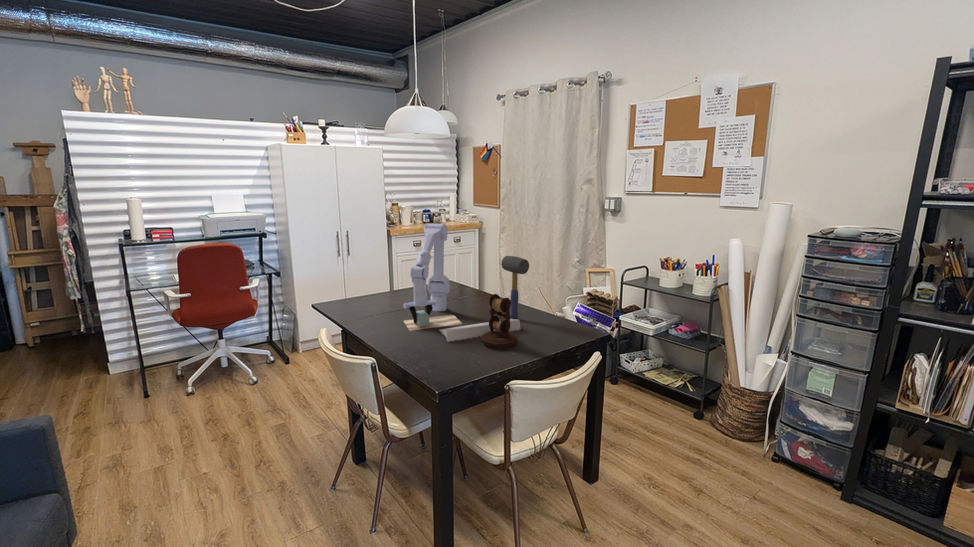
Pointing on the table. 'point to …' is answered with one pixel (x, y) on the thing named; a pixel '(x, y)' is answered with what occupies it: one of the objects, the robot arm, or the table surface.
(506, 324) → the wooden spool holder
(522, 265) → the rubber mallet
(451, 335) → the decorative molding
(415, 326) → the birch board
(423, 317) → the block
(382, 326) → the table surface
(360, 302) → the table surface
